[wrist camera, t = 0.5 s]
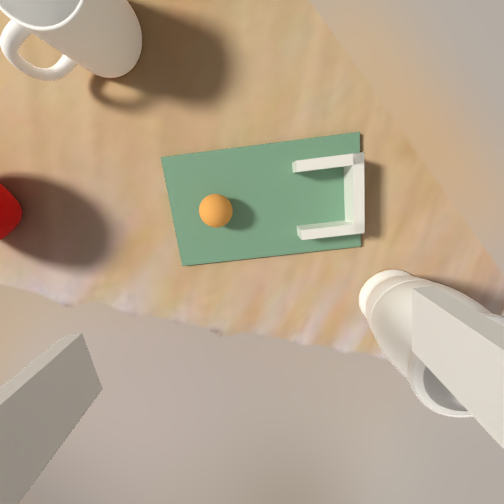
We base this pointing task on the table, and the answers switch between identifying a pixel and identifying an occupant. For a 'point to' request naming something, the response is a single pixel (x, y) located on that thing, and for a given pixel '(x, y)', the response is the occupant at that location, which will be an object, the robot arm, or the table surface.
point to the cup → (74, 35)
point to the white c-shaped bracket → (352, 196)
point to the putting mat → (258, 199)
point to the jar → (410, 333)
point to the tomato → (8, 212)
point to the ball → (215, 210)
